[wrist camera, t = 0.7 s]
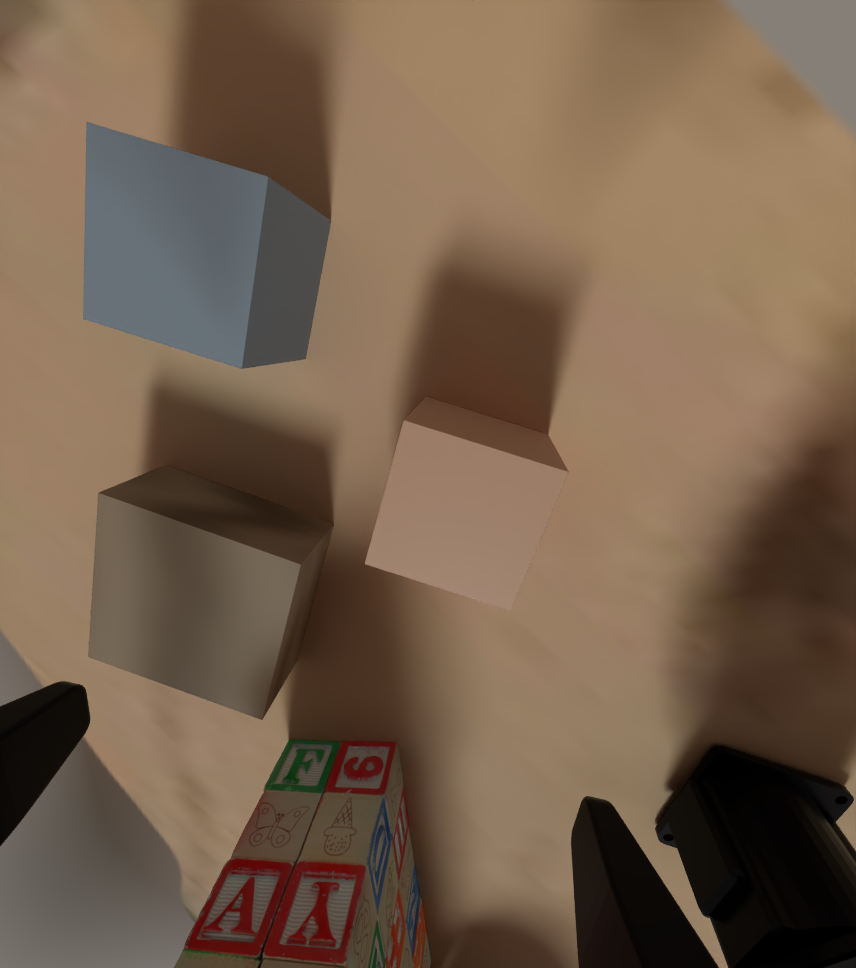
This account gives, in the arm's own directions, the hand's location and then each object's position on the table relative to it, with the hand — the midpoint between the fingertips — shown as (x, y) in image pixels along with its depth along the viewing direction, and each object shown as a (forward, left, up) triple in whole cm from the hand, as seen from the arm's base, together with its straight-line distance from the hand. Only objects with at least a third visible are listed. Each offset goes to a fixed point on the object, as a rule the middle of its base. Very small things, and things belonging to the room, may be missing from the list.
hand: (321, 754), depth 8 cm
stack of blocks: (-4, +24, -13) cm, 27 cm away
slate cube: (+9, -7, -12) cm, 16 cm away
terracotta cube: (-1, -2, -12) cm, 12 cm away
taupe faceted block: (+8, +6, -12) cm, 16 cm away
